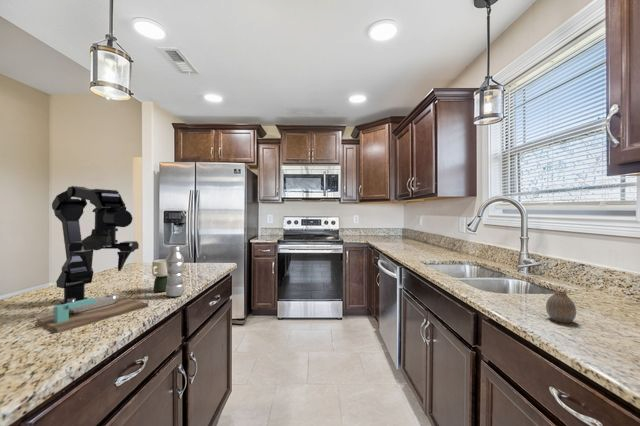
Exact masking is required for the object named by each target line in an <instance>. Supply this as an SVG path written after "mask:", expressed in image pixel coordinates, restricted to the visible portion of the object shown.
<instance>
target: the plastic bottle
mask: <svg viewBox="0 0 640 426" xmlns="http://www.w3.org/2000/svg"><path fill="white" fill-rule="evenodd" d="M165 259H166V266H167V273H168V274H167V276H168V277H167V286H166V290H165V294H166V295H167V297H173V298H175V297H179V296H182V295H183V294H184V292H185V284H184V277H183V271H184V261H185V258H184V256H183V254H182V253H181V245H170V246H169V253H168V255H167V256H166V257H165Z"/></svg>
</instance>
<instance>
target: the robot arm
mask: <svg viewBox="0 0 640 426" xmlns="http://www.w3.org/2000/svg"><path fill="white" fill-rule="evenodd" d="M87 201H89V203H90V204H91V205H93V206H94V207H95V208H93V209H92V213H94V228H93V229H91V234H90V235H88V236H85V238H83V239H82V232H81V226H80V225H81V224H80V219H81V218H82V216H83V214H84V209H85V207H87V205H88V202H87ZM51 208H52V210H53V213H54V216H55V217H56V218H57V219H58V220H59V221H60V222H61V225H62V233H63V241H64V250H65V257H66V260H65V262H64V263H63V265H62V266H61V272H60V274H59V276H58V278H57V279H56V283H55V284H56V288H60V289H63V300H60V301H59V304H66V303H67V299H69V298H76V301H80V300H84V299H89V298H88V297H85V295H86V293H85V292H86V291H85V286H86V284H87V285H88V284H92V281H93V278H94V270H93V267H92V266H93V258H94V257H93V256H94V251H99V250H101V249H104V250H109V249H110V250H112V249H115V250H116V249H117V250H119V251H117V252H116V253H117V256H118V261H117V271H118V272H120V271H122V269H123V267H124V266H125V263H126V261H127V259H128V258H129V256H130V254H131V253H134V252H135V251H136V250H139V247H140V245H139V242H138V241H135V240H131V241H130V240H128V241H127V240H126V241H122V242H119V243H118V239H117V237H116V234H117V232H118V230H119V228H126V227H129V225H131V224H132V222H133V218H134V217H133V216H132V213H131V212H130V211H129V210H127V207H126V203H125V202H124V201H123V197H122V196H121V194H120V192H119V191H118V190H117V189H104V188H103V189H102V188H88V187H85V186H77V185H76V186H73V185H72V186H68V188H66V190H64V191H63V192H60V193H59V194H57V195H56V196H55V197H54V199H53V201H52V203H51Z"/></svg>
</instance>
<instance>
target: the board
mask: <svg viewBox="0 0 640 426" xmlns="http://www.w3.org/2000/svg"><path fill="white" fill-rule="evenodd" d="M148 307H149V303H148V302H143V301H140V300H137V299H133V298H130V297H129V298H128V297H123V298H118V302H116V303H113V304H109V305H105V306H101V307H97V308H93V309H89V310H86V311H82V312H78V313H74V314H69V320H67V321H63V322H60V323H56V322H54V314H53V315H49V316H45V317H42V318H41V317H40V318H37V319H36V323H37V324H39V325H41V326H43V327H45V328H47V329H49V330H51V331H53V332H54V333H56V334H58V333H62V332H66V331H69V330H73V329H76V328H79V327H83V326H87V325H90V324H93V323H97V322H99V321H103V320H107V319H110V318H113V317H117V316H121V315H123V314H128V313H130V312H134V311H137V310H141V309H144V308H145V309H146V308H148Z"/></svg>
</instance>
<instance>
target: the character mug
mask: <svg viewBox="0 0 640 426" xmlns="http://www.w3.org/2000/svg"><path fill="white" fill-rule="evenodd" d="M151 274H152V276H153V277H155V278H154V283H153V291H154V292H159V293H160V292H161V291H162V292H163V291H165V292H166V286H167V277H168V276H167V274H168V273H167V266H166V258H165V259H156V260H152V267H151Z"/></svg>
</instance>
